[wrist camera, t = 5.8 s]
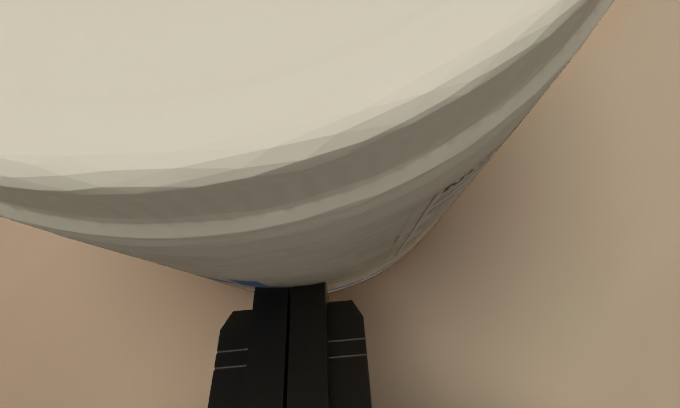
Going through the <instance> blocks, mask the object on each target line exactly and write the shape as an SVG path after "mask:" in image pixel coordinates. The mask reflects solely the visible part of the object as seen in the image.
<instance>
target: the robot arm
mask: <svg viewBox="0 0 680 408" xmlns="http://www.w3.org/2000/svg"><path fill="white" fill-rule="evenodd" d="M208 408H372V404H371V393H370V382H369V372H368V361H367V351H366V341H365V331H364V321H363V316H362V314H361V313H360V311H359V310H358V309H357V307H356V306H355V304H354V303H353V301H352V300H349V301H339V302H329V297H328V290H327V283H325V282H322V283H317V284H311V285H303V286H294V287H291V288H289V287H280V288H277V287H270V288H263V287H255V292H254V301H253V310H243V311H233V312H232V314H231V315H230V317H229V318H228V320H227V321H226V323H225V324H224V326H223V327H222V328H221V330H220V336H219V342H218V348H217V354H216V360H215V371H214V372H213V379H212V385H211V391H210V397H209V403H208Z"/></svg>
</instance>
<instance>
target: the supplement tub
mask: <svg viewBox="0 0 680 408" xmlns="http://www.w3.org/2000/svg"><path fill="white" fill-rule="evenodd" d="M613 2H614V0H0V216H1V217H5V218H8V219H10V220H13V221H16V222H19V223H23V224H26V225H29V226H32V227H36V228H39V229H42V230H45V231H49V232H52V233H55V234H57V235H60V236H64V237H67V238H70V239H74V240H77V241H81V242H84V243H88V244H91V245H95V246H98V247H102V248H105V249H109V250H112V251H115V252H119V253H122V254H126V255H129V256H133V257H136V258H140V259H143V260H147V261H150V262H154V263H157V264H161V265H164V266H168V267H171V268H175V269H178V270H182V271H185V272H188V273H192V274H195V275H198V276H202V277H205V278H208V279H212V280H215V281H218V282H221V283H224V284H227V285H230V286H233V287H237V288H241V289H245V290H250V291H255V287H263V288H270V287H277V288H280V287H289V288H291V287H294V286H303V285H311V284H317V283H322V282H325V283H327V290H328V293H329V292H333V291H337V290H341V289H343V288H346V287H349V286H352V285H355V284H357V283H360V282H362V281H364V280H367V279H369V278H371V277H373V276H375V275H377V274H379V273H380V272H382V271H384V270H385V269H387V268H388V267H390V266H391V265H393V264H394V263H396V262H397V261H398V260H400V259H401V258H402V257H403V256H405V255H406V254H407V253H408V252H409V251H410V250H411V249H412V248H414V247H415V245H416V244H417V243H418V242H419V241H420V240H421V239H422V238H423V237H424V236H425V235H426V234H427V233H428V231H429V230H430V229H431V228H432V227H433V226H434V225H435V223H436V222H437V221H438V220H439V219H440V218H441V217H442V215H443V214H444V213H445V212H446V211H447V210H448V208H449V207H450V206H451V205H452V204H453V203H454V201H455V200H456V199H457V198H458V196H459V195H460V194H461V193H462V192H463V191H464V189H465V188H466V187H467V186H468V185H469V184H470V182H471V181H472V180H473V179H474V178H475V176H476V175H477V174H478V173H479V172H480V170H481V169H482V168H483V167H484V166H485V164H486V163H487V162H488V161H489V160H490V158H491V157H492V156H493V155H494V153H495V152H496V151H497V150H498V149H499V147H500V146H501V145H502V144H503V143H504V142H505V141H506V139H507V138H508V137H509V136H510V135H511V133H512V132H513V131H514V130H515V129H516V128H517V126H518V125H519V124H520V123H521V121H522V120H523V119H524V118H525V116H526V115H527V114H528V113H529V111H530V110H531V109H532V108H533V106H534V105H535V104H536V103H537V101H538V100H539V99H540V98H541V97H542V95H543V94H544V93H545V91H546V90H547V89H548V88H549V86H550V85H551V84H552V83H553V82H554V80H555V79H556V78H557V76H558V75H559V74H560V73H561V71H562V70H563V69H564V68H565V66H566V65H567V64H568V63H569V61H570V60H571V58H572V57H573V56H574V55H575V54H576V53H577V51H578V50H579V49H580V48H581V46H582V45H583V43H584V42H585V41H586V39H587V38H588V36H589V35H590V34H591V32H592V31H593V29H594V28H595V27H596V25H597V24H598V22H599V21H600V20H601V18H602V17H603V15H604V14H605V13H606V11H607V10H608V8H609V7H610V6H611V4H612V3H613Z"/></svg>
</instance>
